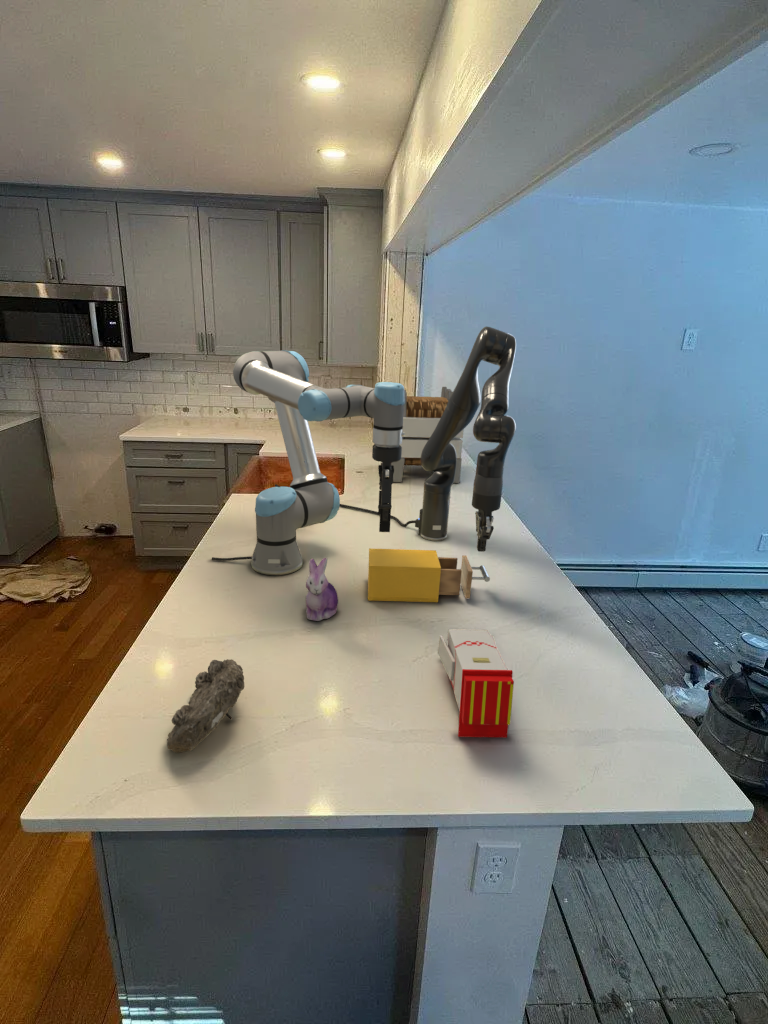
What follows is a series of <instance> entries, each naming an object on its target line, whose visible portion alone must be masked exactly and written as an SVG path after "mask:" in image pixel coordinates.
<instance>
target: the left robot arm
mask: <svg viewBox="0 0 768 1024" xmlns="http://www.w3.org/2000/svg"><path fill="white" fill-rule="evenodd" d="M232 376H233V380H234V382H235V383H236V386H238V387H239V388H240V389H241V390H242V391H244V392H247V393H249V394H251V395H255V396H258V395H262V396H264V397H267V398H268V399H267V400H269V401H270V402H272V403H274V406H275V410H276V414H277V418H278V419H277V420H278V422H279V426H280V431H281V434H282V439H283V443H284V447H285V451H286V455H287V460H288V463H289V467H290V471H291V475H292V481H291V482H290V484H289V486H286V485H285V486H284V485H282V486H280V487H275V486H273V487H269V488H266V489H264V490H262V491H261V492H259V493H258V495H257V496H256V498H255V508H254V513H255V531H256V533H255V534H256V543H255V546H254V548H253V553H252V555H251V556H237V557H235V556H234V557H211V561H219V562H229V561H243V560H250V561H251V562H250V563H251V564H250V565H251V568H252V570H253V571H254V572H256V573H257V574H261V575H267V576H285V575H289V574H292V573H294V572H297V571H299V570H300V569H301V568H302V566H303V556H302V553H301V550H300V546H299V544H298V541H297V530H298V529H302V528H306V527H310V526H314V525H319V524H324V523H326V522H327V521H331V520H333V519H334V518H335V517H336V516H337V514H338V512H339V510H340V507H341V506H340V504H341V497H340V493H339V490H338V488H337V487H336V485H334V484H333V483H330V482H329V480H328V477H327V476H326V475H324V474H323V473H322V472H321V470H320V465H319V461H318V457H317V453H316V448H315V445H314V440H313V436H312V432H311V428H310V423H309V422H323V421H329V420H338V419H346V418H353V417H366V418H371V419H373V425H372V443H373V445H372V449H371V450H372V451H371V458H372V459H373V460H374V461H376V462H380V464H378V467H377V468H378V469H377V470H378V477H379V480H378V481H379V483H378V485H379V487H378V489H379V491H378V505H377V510H378V511H377V512H378V514H380V515H379V525H378V526H379V527H378V532H379V533H390V532H391V519H392V518H391V516H392V515H391V514H392V507H393V506H392V491H393V490H392V487H393V484H394V482H393V475H394V465H391V463H392V462H398V461H400V460H401V454H402V447H401V446H400V444H402V436H404V435H405V433H404V432H402V431H403V430H402V429H403V415H404V404H405V393H404V390H405V386H404V385H403V384H402V383H400V382H393V381H380V382H376V383H375V384H374V387H370V386H365V385H363V384H348V385H346V386H344V387H335V388H324V387H321V386H319V385H317V384H313V383H311V382H310V380H309V378H310V369H309V366H308V363H307V361H306V360H305V358H304V357H303V356H302V355H301V354H299V353H298V352H297V351H294V350H285V349H282V350H263V351H262V350H261V351H260V350H259V351H258V350H253V351H248V352H246V353H244V354H242V355H240V356H239V358H237V360H236V361H235V363H234V366H233V369H232ZM378 514H377V515H378Z"/></svg>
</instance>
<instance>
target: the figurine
mask: <svg viewBox="0 0 768 1024" xmlns="http://www.w3.org/2000/svg"><path fill="white" fill-rule="evenodd" d="M327 565H328V558H327V557H323V558H322V559H321V561H320V562H319V563H318V565H317V563H316V561H315V559H314V558H310V559H309V561H308V571H309V574H308V576H307V578H306V581H305V588H306V590H307V593H306V595H305V605H306V609H305V613H306V619H308V620H310V621H314V622H316V621H317V622H320V621H322V620H327V619H329V618H332V617H333V616H334V615H336V613H337V611H338V604H339V597H338V592H337V589H336V588H335V586H334V585H333V584H332V583H331V582H329V581H328V578H327V576H326V574H325V571H326V568H327Z"/></svg>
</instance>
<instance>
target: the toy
mask: <svg viewBox="0 0 768 1024" xmlns="http://www.w3.org/2000/svg"><path fill="white" fill-rule="evenodd" d="M446 640H447V643H446V641H445V639H444V636H443V635H442V634H439V637H438V646H437V656H438V657H439V659H440V661H441V663H442V666H443V668H444V670H445V672H446V674H447V677H448V679H449V681H450V684H451V687H452V690H453V693H454V697H455V701H456V705H457V708H458V711H459V714H458V715H459V716H458V730H457V731H458V732H457V737H458V738H508V731H509V726H510V725H511V717H512V707H513V697H514V696H513V695H514V684H515V680H514V679H513V673H514V671H513V670H512V669H508V667H507V665H506V662H505V661H504V659H503V658H502V655H501V653H500V651H499V649H498V647H497V643H496V639H495V637H494V635H493V634H491V632H490V631H489V629H467V628H466V629H465V628H463V629H461V628H460V629H459V628H448V630H447V639H446Z"/></svg>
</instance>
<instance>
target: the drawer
mask: <svg viewBox="0 0 768 1024" xmlns="http://www.w3.org/2000/svg"><path fill="white" fill-rule="evenodd" d="M438 559H439V563H440V566H441V573H440V585H439V596H442V595H443V596H460V592H461V589H462V593H463V596H464V599H465V600H467V599H468V600H470V599H471V593H472V582H473V580H474V581H475V580H477V581H484V582H486V583H488V582H490V580H491V578H490V576H489V573H488V571H487V568H486V567H485V565H480V566H471V563H470V561H469V558H468V556H467V555H465V554H464V555H462V556H461V566H460V568H458V557H442V556H441V557H440V556H438ZM474 570H475V571H476V570H477V571H478V570H479V571H480V573H481V576H473V572H474Z"/></svg>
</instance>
